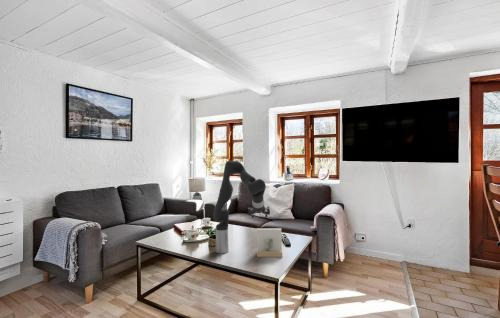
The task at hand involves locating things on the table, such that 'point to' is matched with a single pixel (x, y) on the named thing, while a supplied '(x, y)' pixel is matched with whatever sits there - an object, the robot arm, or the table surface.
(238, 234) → the table surface
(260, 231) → the wall board
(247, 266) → the table surface
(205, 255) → the table surface
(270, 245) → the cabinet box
